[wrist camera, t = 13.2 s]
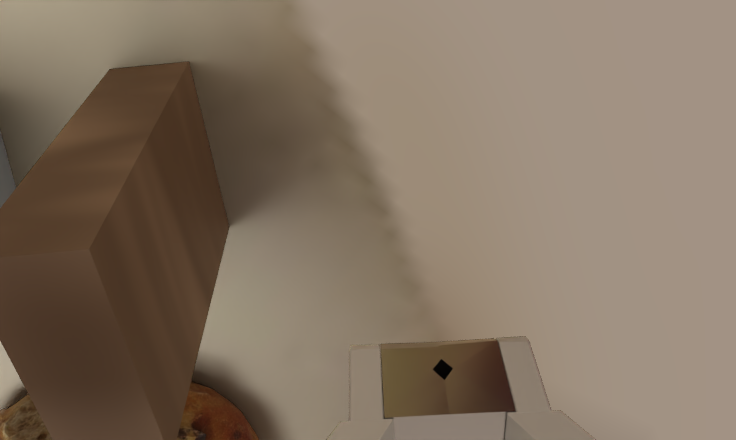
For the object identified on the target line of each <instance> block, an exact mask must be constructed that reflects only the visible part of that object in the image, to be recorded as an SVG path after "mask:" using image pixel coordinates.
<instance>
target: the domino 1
mask: <svg viewBox="0 0 736 440" xmlns="http://www.w3.org/2000/svg"><path fill="white" fill-rule="evenodd" d="M15 189H16V186H15V182H14V179H13V175H12V171H11V168H10V164H9V160H8V156H7V153H6V149H5V145H4V142H3V138H2V134H1V131H0V208H1V207H2V205H3V204H4V203H5V202H6V200H7V199H8V198H9V197H10V195H11V194H12V193H13V191H14V190H15Z"/></svg>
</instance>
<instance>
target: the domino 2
mask: <svg viewBox="0 0 736 440" xmlns="http://www.w3.org/2000/svg"><path fill="white" fill-rule="evenodd" d="M228 230H229V224H228V220H227V216H226V212H225V208H224V203H223V199H222V195H221V191H220V187H219V183H218V179H217V175H216V171H215V166H214V162H213V158H212V154H211V150H210V146H209V142H208V138H207V134H206V130H205V125H204V121H203V117H202V113H201V109H200V105H199V101H198V97H197V93H196V89H195V84H194V80H193V76H192V72H191V68H190V64H189V62H179V63H169V64H159V65H149V66H138V67H128V68H118V69H110V70H109V71H108V72H107V73H106V75H105V76H104V77H103V78H102V80H101V81H100V82H99V84H98V85H97V86H96V87H95V89H94V90H93V91H92V92H91V94H90V95H89V96H88V97H87V99H86V100H85V101H84V103H83V104H82V105H81V106H80V108H79V109H78V110H77V111H76V113H75V114H74V115H73V117H72V118H71V119H70V120H69V122H68V123H67V124H66V125H65V127H64V128H63V129H62V130H61V132H60V133H59V134H58V136H57V137H56V138H55V139H54V141H53V142H52V143H51V144H50V146H49V147H48V148H47V150H46V151H45V152H44V153H43V155H42V156H41V157H40V158H39V160H38V161H37V162H36V163H35V165H34V166H33V167H32V169H31V170H30V171H29V172H28V174H27V175H26V176H25V177H24V179H23V180H22V181H21V183H20V184H19V185H18V186H17V188H16V189H15V190H14V191H13V193H12V194H11V195H10V197H9V198H8V199H7V200H6V202H5V203H4V204H3V205H2V207H1V208H0V341H1V343H2V345H3V347H4V348H5V350H6V352H7V354H8V356H9V358H10V360H11V362H12V364H13V366H14V367H15V369H16V371H17V373H18V375H19V377H20V379H21V381H22V383H23V384H24V386H25V388H26V390H27V392H28V394H29V396H30V398H31V400H32V402H33V403H34V405H35V407H36V409H37V411H38V413H39V415H40V417H41V419H42V420H43V422H44V424H45V426H46V428H47V430H48V432H49V434H50V436H51V438H52V439H53V440H177V436H178V432H179V428H180V424H181V420H182V416H183V412H184V408H185V404H186V400H187V396H188V392H189V388H190V384H191V379H192V375H193V371H194V367H195V363H196V359H197V355H198V351H199V347H200V343H201V339H202V335H203V331H204V327H205V323H206V319H207V315H208V311H209V307H210V303H211V299H212V295H213V291H214V287H215V283H216V279H217V275H218V271H219V266H220V262H221V258H222V254H223V250H224V246H225V242H226V238H227V234H228Z"/></svg>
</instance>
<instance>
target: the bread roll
mask: <svg viewBox="0 0 736 440" xmlns="http://www.w3.org/2000/svg"><path fill="white" fill-rule="evenodd" d="M0 440H53V439H52V438H51V436H50V434H49V432H48V430H47V428H46V426H45V424H44V422H43V420H42V419H41V417H40V415H39V413H38V411H37V409H36V407H35V405H34V403H33V402H32V400H31V398H30V396H29V394H28V395H27V396H25V397H24V398H22V399H21V400H20V401H18V402H17V403H16V404H14V405H13V406H11V407H10V408H8V409H2V410H0ZM177 440H259V439H258V437H257V435H256V433H255V432H254V430H253V429H252V427H251V426H250V424H249V423H248V421H247V420H246V418H245V416H244V415H243V414H242V412H241V411H240V410H239V409H238V408H237V407H236V406H235V405H233V404H232V403H231V402H230V401H229V400H227V399H226V398H225V397H223V396H222V395H220V394H219V393H218V392H216V391H215V390H213V389H211V388H208V387H205V386H203V385H200V384H197V383H194V382H191V384H190V388H189V392H188V396H187V400H186V404H185V408H184V412H183V416H182V420H181V424H180V428H179V432H178V436H177Z"/></svg>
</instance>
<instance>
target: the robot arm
mask: <svg viewBox="0 0 736 440" xmlns="http://www.w3.org/2000/svg"><path fill="white" fill-rule="evenodd" d="M380 347H381V357H380ZM381 369H382V373H381ZM326 440H596V439H595V438H593V437H592V436H591V435H589V434H588V433H587V432H586V431H585V430H584V429H582V428H581V427H580V426H579V425H577V424H576V423H575V422H574V421H573V420H571V419H570V418H569V417H568V416H567V415H566V414H564V413H563V412H562V411H561V410H558V411H551V407H550V404H549V401H548V398H547V395H546V392H545V389H544V386H543V383H542V379H541V376H540V373H539V370H538V367H537V364H536V361H535V358H534V354H533V352H532V348H531V345H530V342H529V340H528V339H527V338H526V337H525V336H520V337H504V338H496V339H494V338H491V339H475V340H458V341H442V342H424V343H388V344H380V345H350V350H349V421H342V422H340V423H339V424H338V425H337V426H336V428H335V429H334V430H333V432H332V433H331V434H330V435H329V437H328V438H327V439H326Z"/></svg>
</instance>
